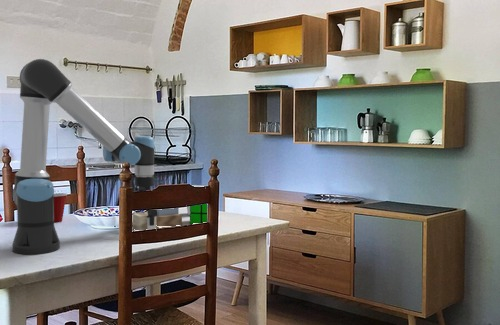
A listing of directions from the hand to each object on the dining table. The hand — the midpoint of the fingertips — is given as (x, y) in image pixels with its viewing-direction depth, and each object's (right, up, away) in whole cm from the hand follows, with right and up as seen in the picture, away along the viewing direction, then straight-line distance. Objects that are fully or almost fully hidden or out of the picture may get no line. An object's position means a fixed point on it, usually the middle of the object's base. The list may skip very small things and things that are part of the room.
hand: (144, 230), depth 221 cm
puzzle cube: (+22, +1, +20) cm, 29 cm away
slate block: (+7, +5, +13) cm, 15 cm away
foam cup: (+16, +3, +39) cm, 42 cm away
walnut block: (+6, 0, +13) cm, 14 cm away
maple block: (0, 0, 0) cm, 0 cm away
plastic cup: (-42, +2, +16) cm, 45 cm away
